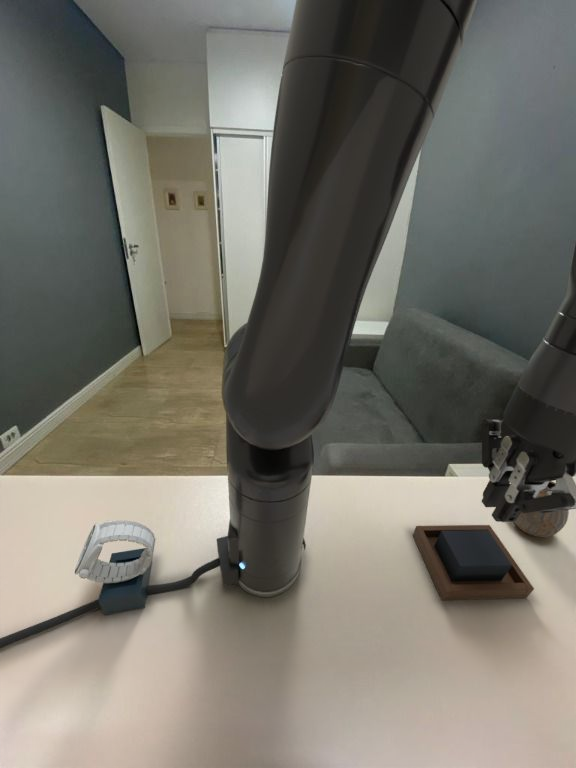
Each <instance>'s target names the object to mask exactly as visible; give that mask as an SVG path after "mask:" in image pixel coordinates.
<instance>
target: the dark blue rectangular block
mask: <svg viewBox="0 0 576 768" xmlns="http://www.w3.org/2000/svg"><path fill="white" fill-rule="evenodd" d="M434 546H435V548H436V550H437V552H438V554H439V557H440V559H441V561H442V563H443V565H444V567H445V569H446V571H447V573H448V575H449V577H450V579H451V581H493V580H502V579H503V578H504V576H505V575H506V573H507V572H508V571H509V569H510V568H511V566H512V564H511V563H510V561H509V560H508V558H507V557H506V555H505V554H504V553H503V551H502V550H501V548H500V547H499V545H498V544H497V542H496V541H495V539H494V538H493V536H492V535H491V533H490V532H489V531H488V530H471V531H441V533H440V535H439V537H438V539H437V541H436V543H435V545H434Z"/></svg>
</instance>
